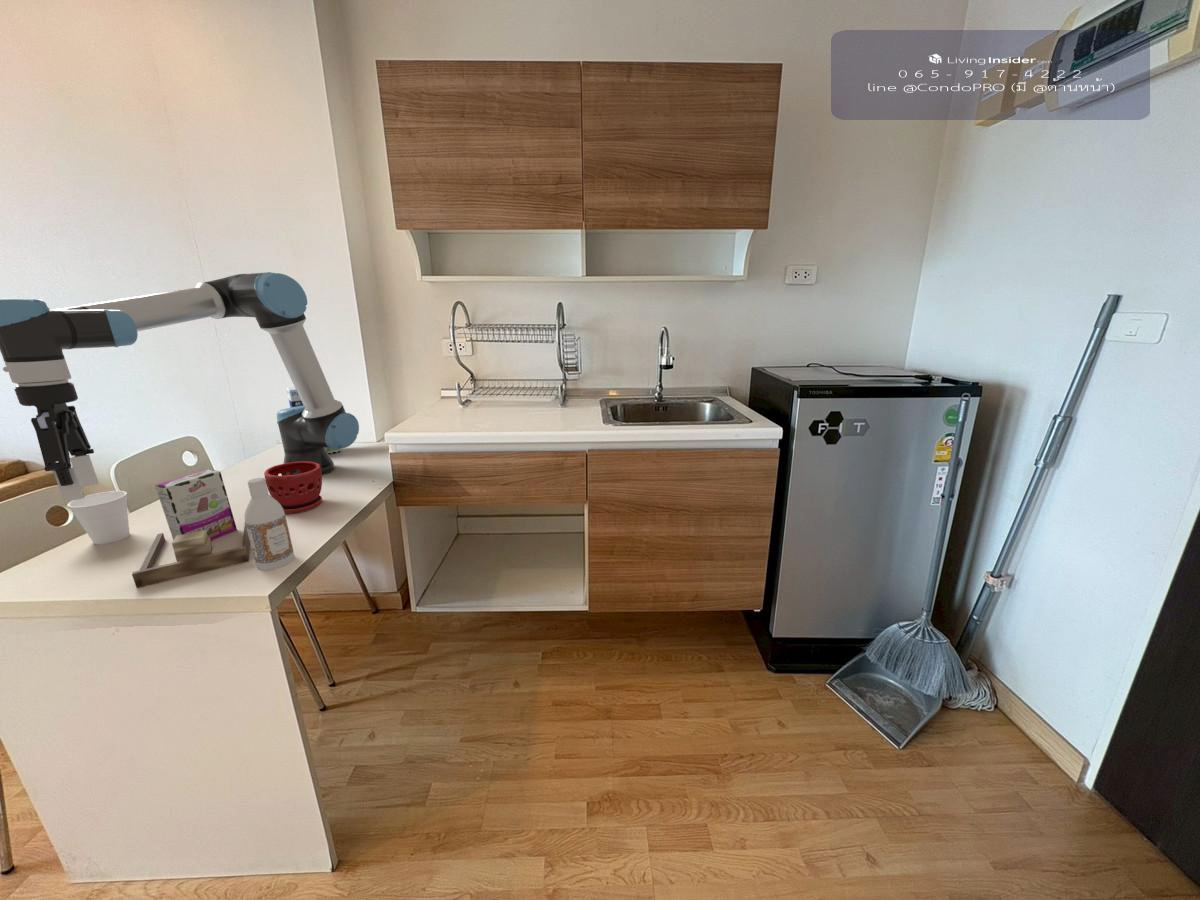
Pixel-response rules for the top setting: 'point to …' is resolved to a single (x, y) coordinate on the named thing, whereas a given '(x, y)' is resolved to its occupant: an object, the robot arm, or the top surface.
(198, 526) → the candy bar box
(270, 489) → the plant pot
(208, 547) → the offcut mid
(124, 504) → the cup
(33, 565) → the top surface
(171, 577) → the wooden frame
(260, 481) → the bath foam
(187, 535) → the offcut top
